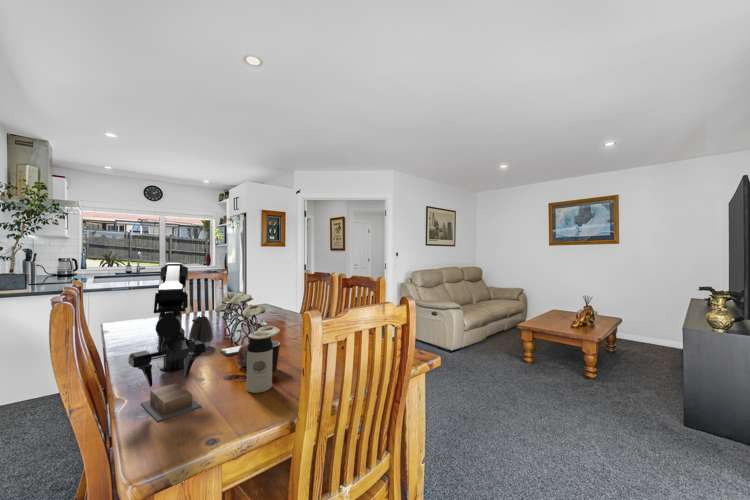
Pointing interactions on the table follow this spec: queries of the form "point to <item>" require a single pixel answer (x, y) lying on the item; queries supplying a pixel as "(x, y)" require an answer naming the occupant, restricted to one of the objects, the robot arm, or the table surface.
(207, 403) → the table surface
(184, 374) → the robot arm
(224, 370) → the table surface
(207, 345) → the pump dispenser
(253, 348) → the travel mug
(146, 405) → the mat
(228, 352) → the phone case
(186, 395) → the board
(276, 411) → the table surface
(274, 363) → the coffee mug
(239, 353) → the tin
